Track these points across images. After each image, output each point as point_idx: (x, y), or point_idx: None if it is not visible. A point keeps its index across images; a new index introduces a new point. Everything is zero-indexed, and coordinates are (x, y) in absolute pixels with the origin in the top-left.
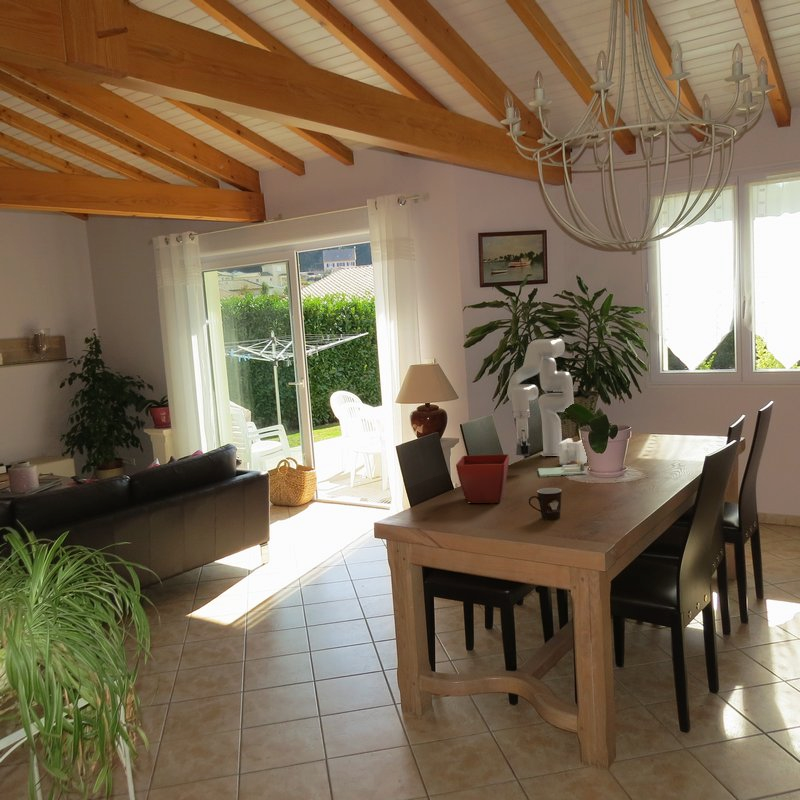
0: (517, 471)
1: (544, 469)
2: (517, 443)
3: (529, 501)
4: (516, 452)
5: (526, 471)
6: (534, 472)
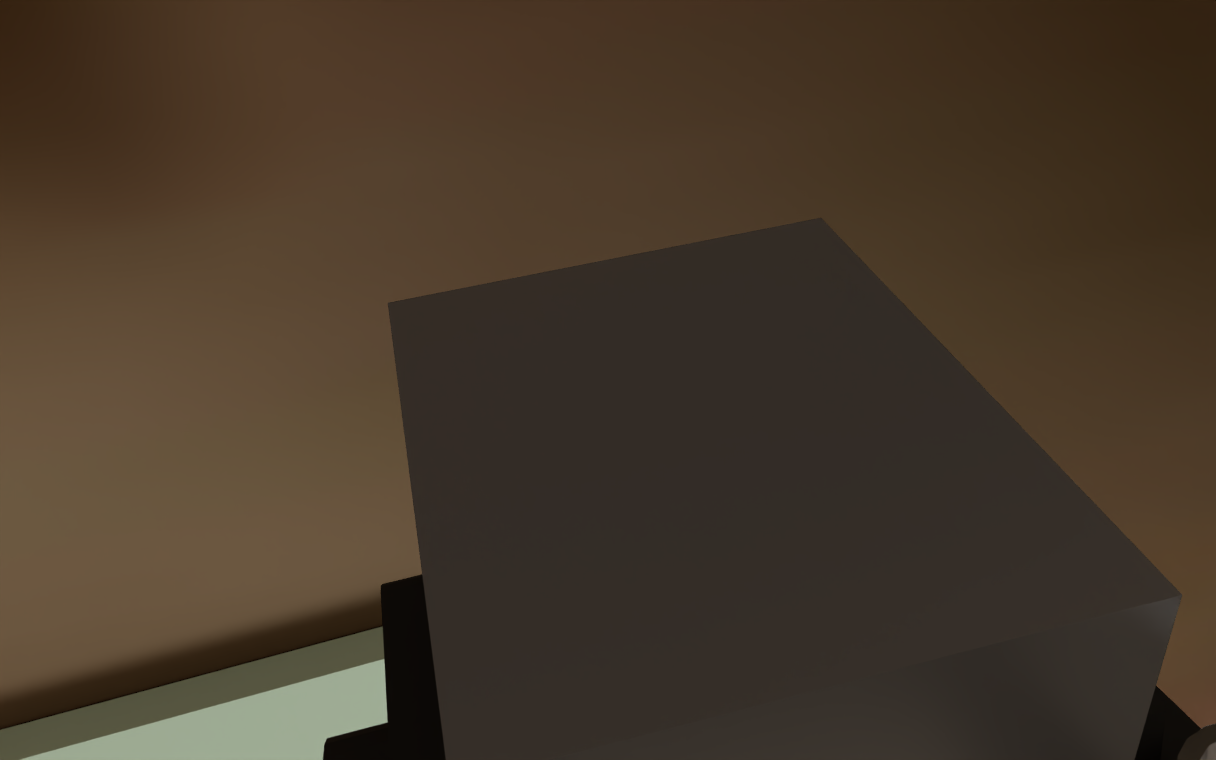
0: (645, 77)
1: None
2: (848, 719)
3: None
4: (398, 383)
5: None
6: None
